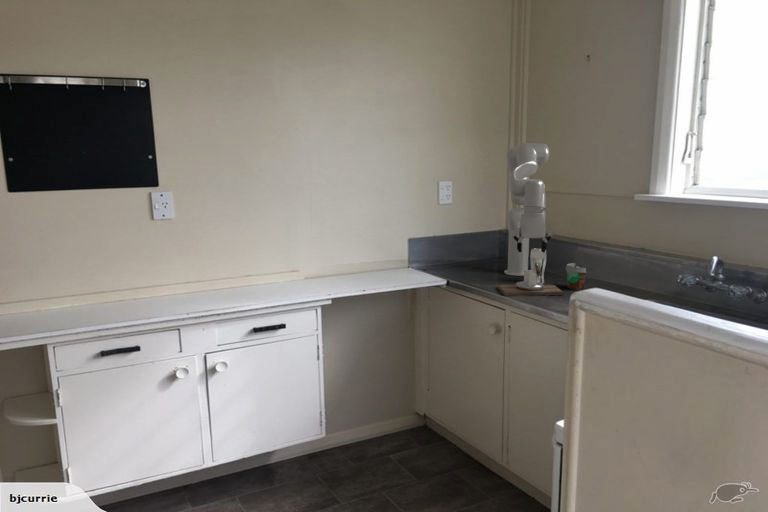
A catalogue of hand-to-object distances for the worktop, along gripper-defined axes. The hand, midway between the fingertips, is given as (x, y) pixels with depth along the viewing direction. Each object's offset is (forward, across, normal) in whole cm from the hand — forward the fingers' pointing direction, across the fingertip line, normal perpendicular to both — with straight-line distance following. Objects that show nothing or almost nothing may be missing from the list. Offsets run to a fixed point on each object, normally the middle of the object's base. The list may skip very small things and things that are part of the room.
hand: (531, 251), depth 252 cm
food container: (+17, -20, -7) cm, 27 cm away
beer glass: (+17, -8, -19) cm, 27 cm away
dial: (+15, 0, -1) cm, 15 cm away
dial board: (+17, 0, -1) cm, 17 cm away
